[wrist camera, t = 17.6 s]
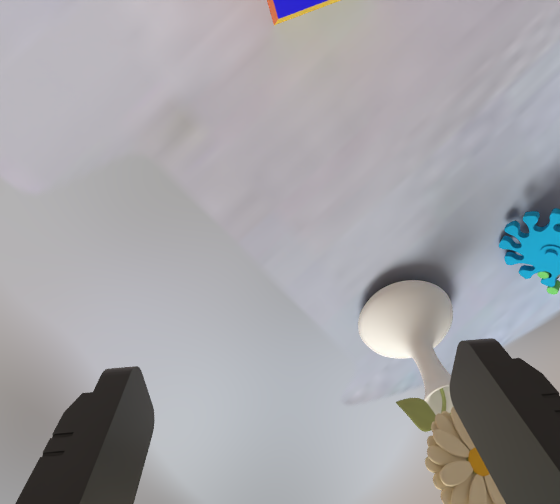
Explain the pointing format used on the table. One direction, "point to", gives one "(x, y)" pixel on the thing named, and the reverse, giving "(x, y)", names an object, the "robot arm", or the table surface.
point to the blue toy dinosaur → (536, 248)
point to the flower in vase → (429, 384)
